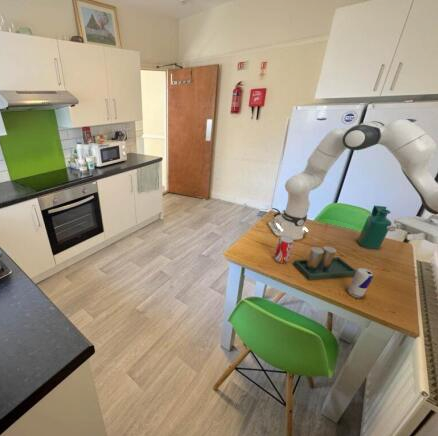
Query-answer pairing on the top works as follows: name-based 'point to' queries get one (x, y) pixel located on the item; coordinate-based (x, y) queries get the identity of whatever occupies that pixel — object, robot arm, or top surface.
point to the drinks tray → (335, 270)
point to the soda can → (283, 249)
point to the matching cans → (320, 259)
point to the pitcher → (375, 228)
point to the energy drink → (360, 282)
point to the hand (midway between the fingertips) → (396, 233)
